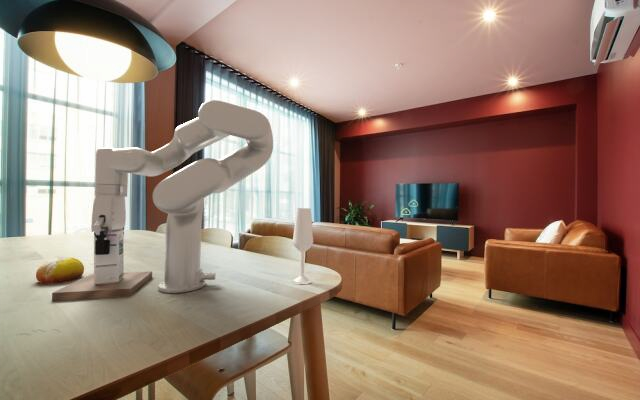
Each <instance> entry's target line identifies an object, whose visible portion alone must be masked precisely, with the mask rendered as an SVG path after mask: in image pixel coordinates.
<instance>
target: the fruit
mask: <svg viewBox="0 0 640 400" xmlns="http://www.w3.org/2000/svg"><path fill="white" fill-rule="evenodd" d="M84 271H85V266H84V264H83V262H82V261H81V260H79V259H78V258H74V257H68V258H61V259H57V260H53V261H50V262H46V263H43V264H42V265H41V266H40V267H38V269H37V271H36V272H35V278H36V280H37V281H38V282H39V283H40V284H42V285H43V284H44V285H50V284H51V285H53V284H55V285H56V284H63V283H66V282H67V283H68V282H72V281H77V280H80V279H81V278H82V276H83V274H84Z"/></svg>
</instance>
